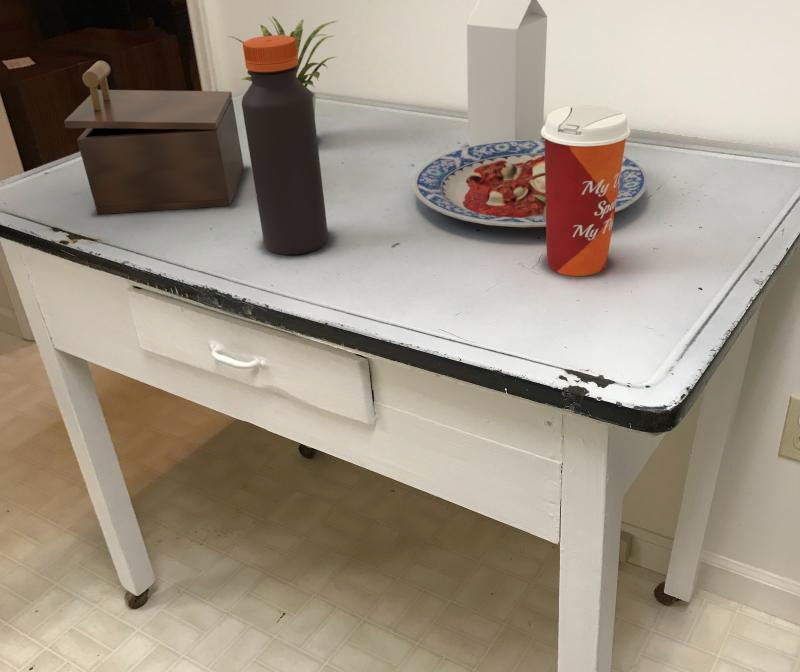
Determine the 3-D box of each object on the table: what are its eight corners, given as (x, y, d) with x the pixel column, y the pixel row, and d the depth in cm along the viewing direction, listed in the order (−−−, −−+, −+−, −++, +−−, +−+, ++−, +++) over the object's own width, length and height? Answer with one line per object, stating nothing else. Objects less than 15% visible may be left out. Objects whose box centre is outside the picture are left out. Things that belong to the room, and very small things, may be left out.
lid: (65, 128, 94) (55, 80, 91) (96, 96, 104) (88, 52, 101) (216, 129, 94) (211, 82, 91) (232, 98, 105) (228, 54, 102)
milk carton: (515, 155, 108) (518, -9, 97) (467, 147, 111) (465, -13, 100) (543, 139, 112) (549, -20, 101) (496, 131, 116) (497, -23, 105)
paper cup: (596, 288, 78) (609, 135, 70) (521, 270, 81) (525, 123, 73) (631, 255, 83) (646, 108, 75) (558, 239, 87) (566, 98, 79)
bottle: (258, 257, 87) (224, 51, 76) (270, 229, 93) (240, 34, 82) (324, 255, 87) (299, 47, 75) (332, 228, 92) (310, 30, 81)
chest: (97, 214, 100) (76, 139, 95) (123, 176, 110) (106, 106, 105) (230, 205, 99) (216, 130, 94) (244, 168, 110) (232, 98, 105)
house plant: (376, 134, 118) (367, 6, 108) (314, 166, 109) (298, 29, 99) (296, 122, 125) (281, 0, 115) (231, 151, 115) (209, 22, 106)
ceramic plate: (405, 166, 107) (403, 142, 105) (609, 149, 107) (610, 125, 106) (424, 254, 86) (423, 226, 84) (678, 232, 86) (682, 204, 85)
